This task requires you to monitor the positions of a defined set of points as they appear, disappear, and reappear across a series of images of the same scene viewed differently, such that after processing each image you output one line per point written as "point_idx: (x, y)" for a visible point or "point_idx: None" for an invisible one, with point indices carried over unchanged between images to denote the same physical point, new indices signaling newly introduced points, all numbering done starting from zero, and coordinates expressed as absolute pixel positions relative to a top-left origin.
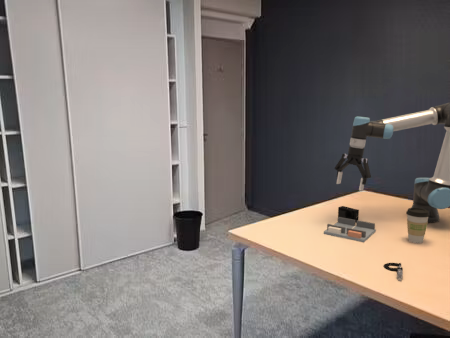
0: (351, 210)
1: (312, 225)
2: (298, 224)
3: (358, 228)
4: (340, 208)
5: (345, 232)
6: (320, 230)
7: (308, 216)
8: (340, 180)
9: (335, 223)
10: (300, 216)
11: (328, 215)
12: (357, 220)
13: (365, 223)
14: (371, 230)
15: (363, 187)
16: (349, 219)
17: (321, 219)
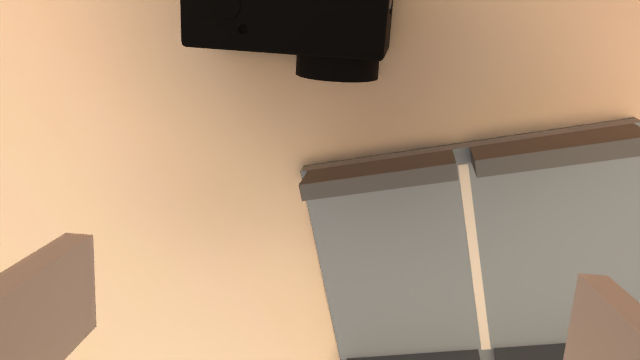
0: (345, 56)
1: (199, 306)
2: (128, 345)
3: (511, 201)
4: (212, 47)
5: (474, 339)
6: (299, 355)
7: (40, 152)
8: (58, 283)
9: (309, 213)
10: (8, 194)
11: (113, 7)
12: (479, 166)
13: (562, 162)
14: (621, 173)
15: (636, 305)
16: (408, 186)
17: (149, 147)
